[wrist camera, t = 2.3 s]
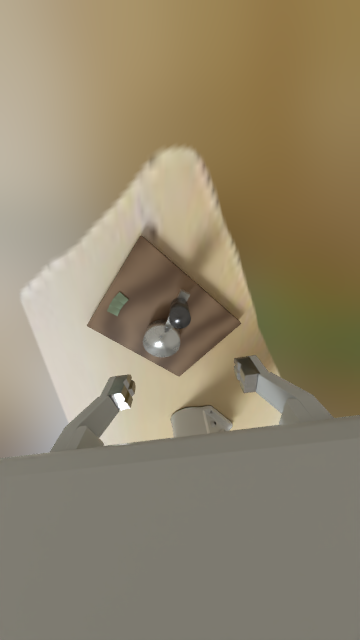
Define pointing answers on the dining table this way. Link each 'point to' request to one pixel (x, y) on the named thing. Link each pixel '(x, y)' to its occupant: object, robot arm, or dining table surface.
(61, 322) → the dining table surface
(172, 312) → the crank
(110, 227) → the dining table surface
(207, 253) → the dining table surface
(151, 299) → the board
